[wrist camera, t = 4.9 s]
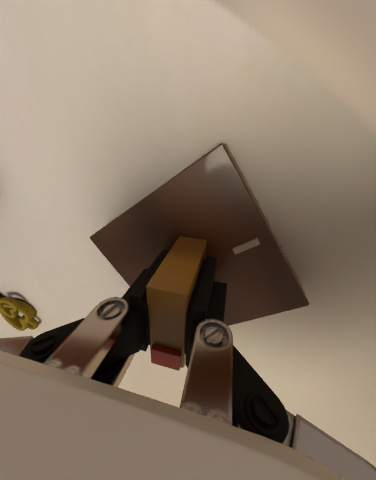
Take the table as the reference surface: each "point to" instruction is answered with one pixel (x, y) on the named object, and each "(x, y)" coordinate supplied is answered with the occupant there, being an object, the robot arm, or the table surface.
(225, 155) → the plate
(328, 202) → the table surface
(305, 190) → the table surface
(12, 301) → the key
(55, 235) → the table surface
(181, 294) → the thumbturn
